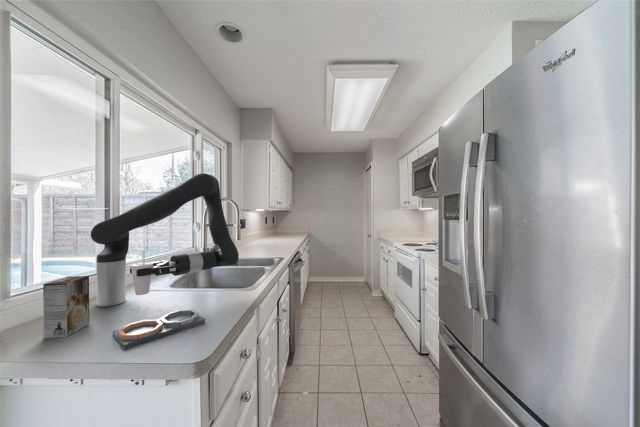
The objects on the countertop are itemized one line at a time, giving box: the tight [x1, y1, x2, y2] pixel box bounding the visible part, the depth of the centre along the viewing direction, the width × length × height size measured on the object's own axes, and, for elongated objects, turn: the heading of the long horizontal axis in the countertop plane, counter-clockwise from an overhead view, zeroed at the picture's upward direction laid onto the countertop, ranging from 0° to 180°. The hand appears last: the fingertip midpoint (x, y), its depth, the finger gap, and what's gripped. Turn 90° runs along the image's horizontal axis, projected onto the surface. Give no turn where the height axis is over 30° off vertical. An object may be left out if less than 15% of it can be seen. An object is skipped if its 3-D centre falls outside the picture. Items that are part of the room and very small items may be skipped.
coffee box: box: [42, 275, 90, 339], centre depth 80 cm, size 9×6×16 cm
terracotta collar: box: [117, 318, 163, 340], centre depth 77 cm, size 10×10×1 cm
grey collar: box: [160, 309, 200, 326], centre depth 85 cm, size 10×10×1 cm
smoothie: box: [129, 250, 154, 296], centre depth 85 cm, size 6×6×14 cm
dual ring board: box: [112, 314, 206, 351], centre depth 81 cm, size 12×22×2 cm, turn 140°
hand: (133, 271), depth 83 cm, fingers closed on smoothie, 6 cm apart
